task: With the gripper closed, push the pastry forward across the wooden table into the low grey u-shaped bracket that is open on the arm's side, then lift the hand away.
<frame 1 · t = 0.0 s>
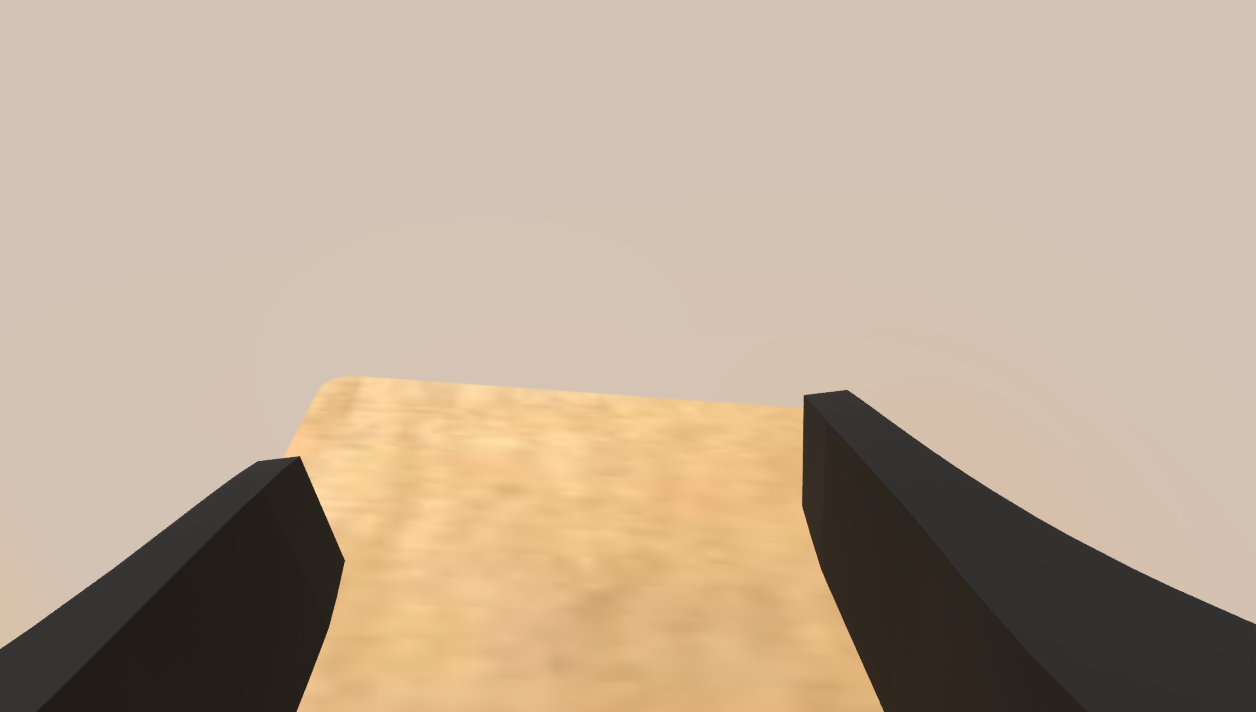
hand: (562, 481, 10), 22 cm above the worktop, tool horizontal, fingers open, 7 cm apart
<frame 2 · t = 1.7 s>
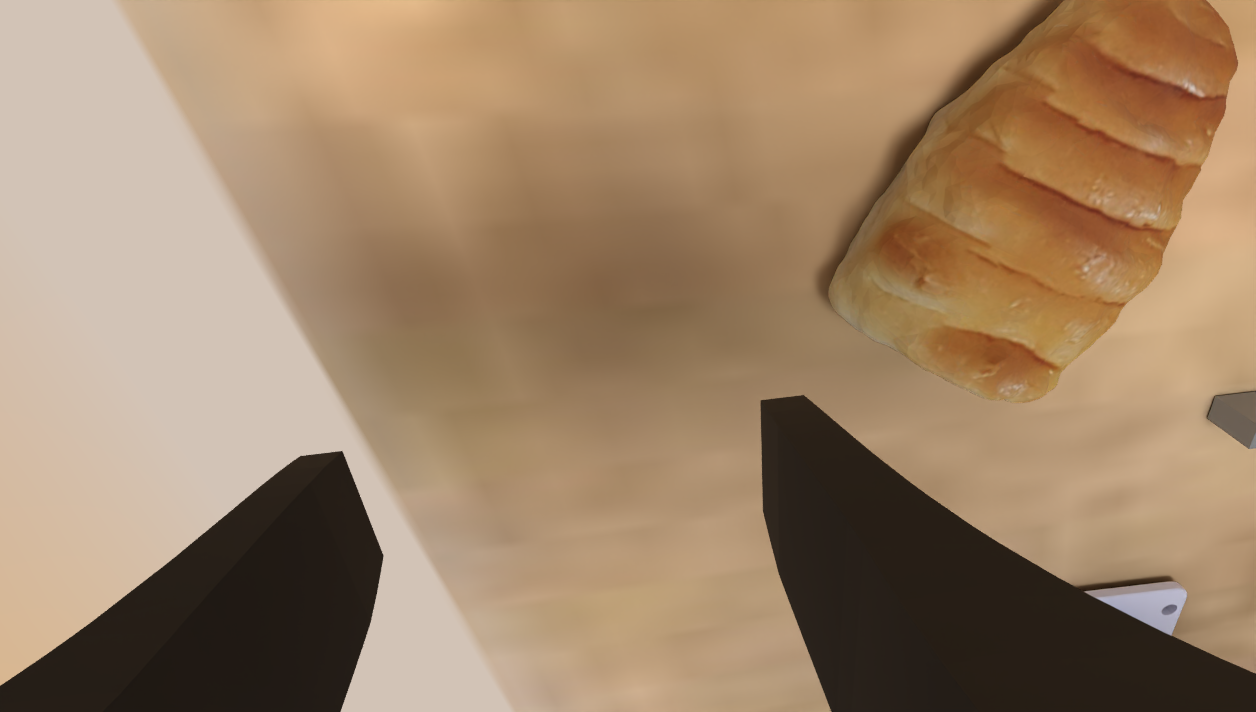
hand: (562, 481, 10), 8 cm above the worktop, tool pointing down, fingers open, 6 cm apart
pastry: (981, 202, 18), on the worktop
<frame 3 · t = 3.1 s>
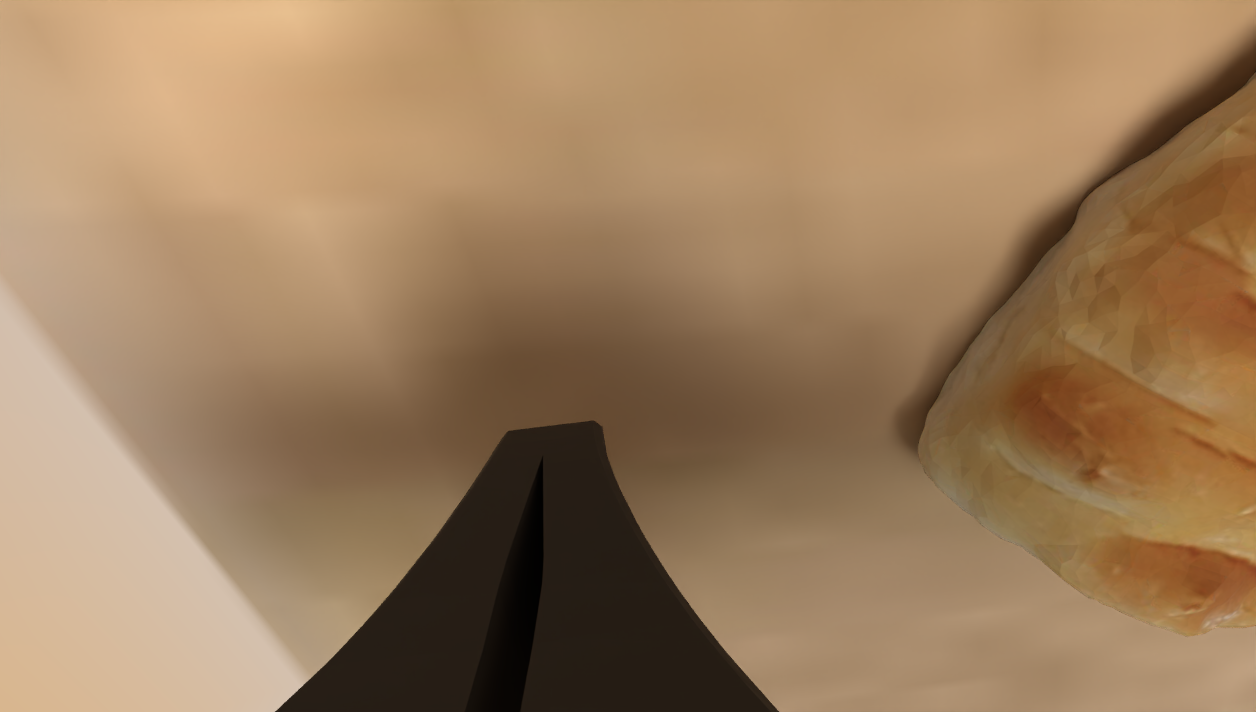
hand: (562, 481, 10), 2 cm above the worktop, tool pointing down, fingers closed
pastry: (1141, 309, 12), on the worktop
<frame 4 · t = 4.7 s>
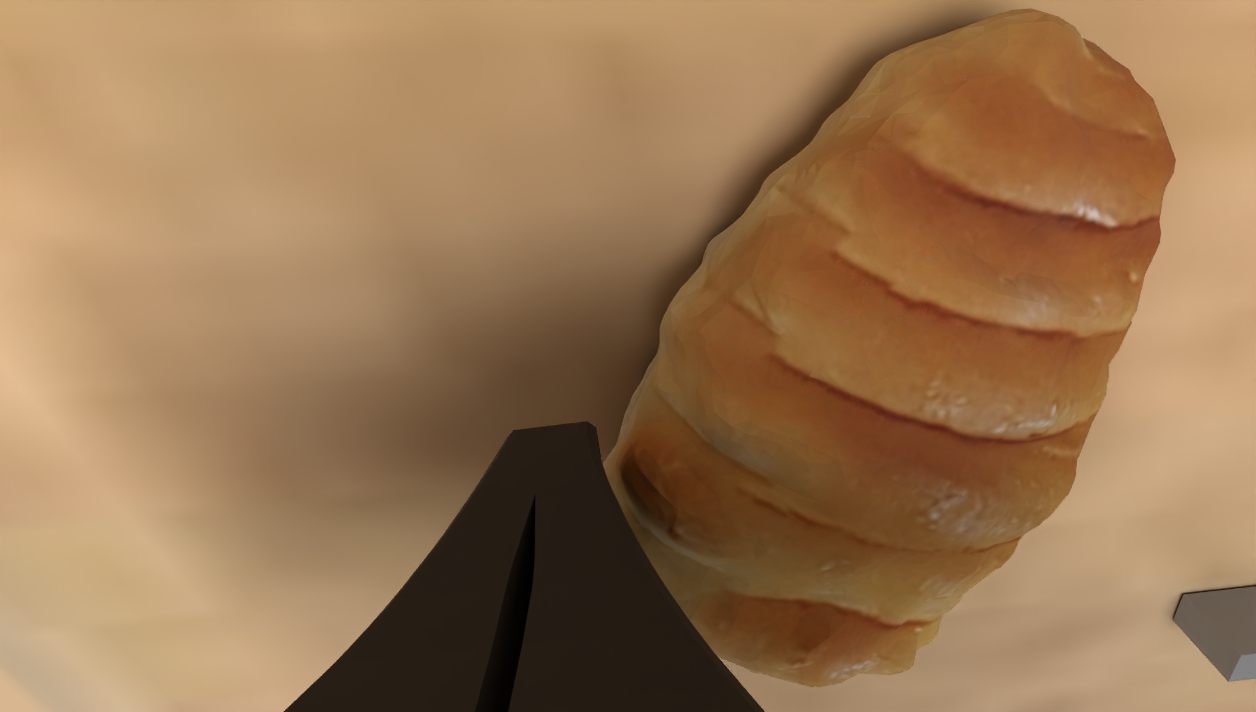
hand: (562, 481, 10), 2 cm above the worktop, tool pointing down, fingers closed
pastry: (818, 350, 12), on the worktop, touching gripper
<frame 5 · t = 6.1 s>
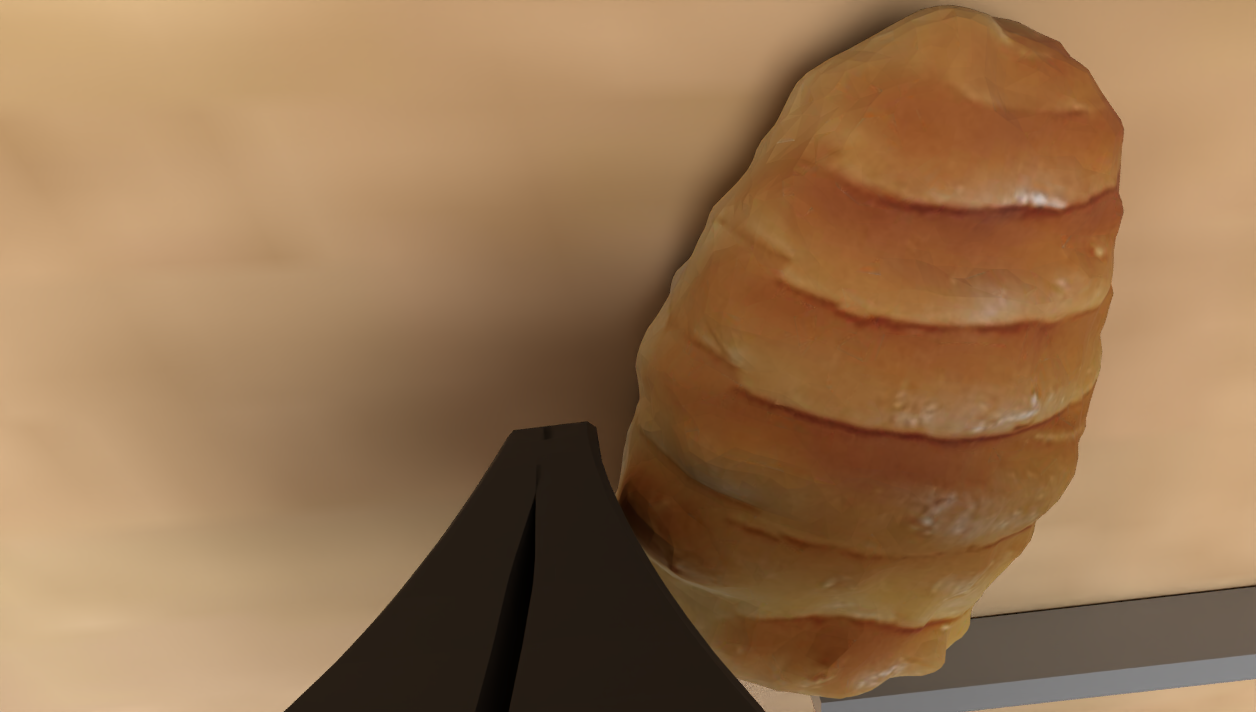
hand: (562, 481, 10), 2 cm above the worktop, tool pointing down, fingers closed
pastry: (808, 357, 12), on the worktop, touching gripper
grey u-shaped bracket: (1163, 338, 12), on the worktop
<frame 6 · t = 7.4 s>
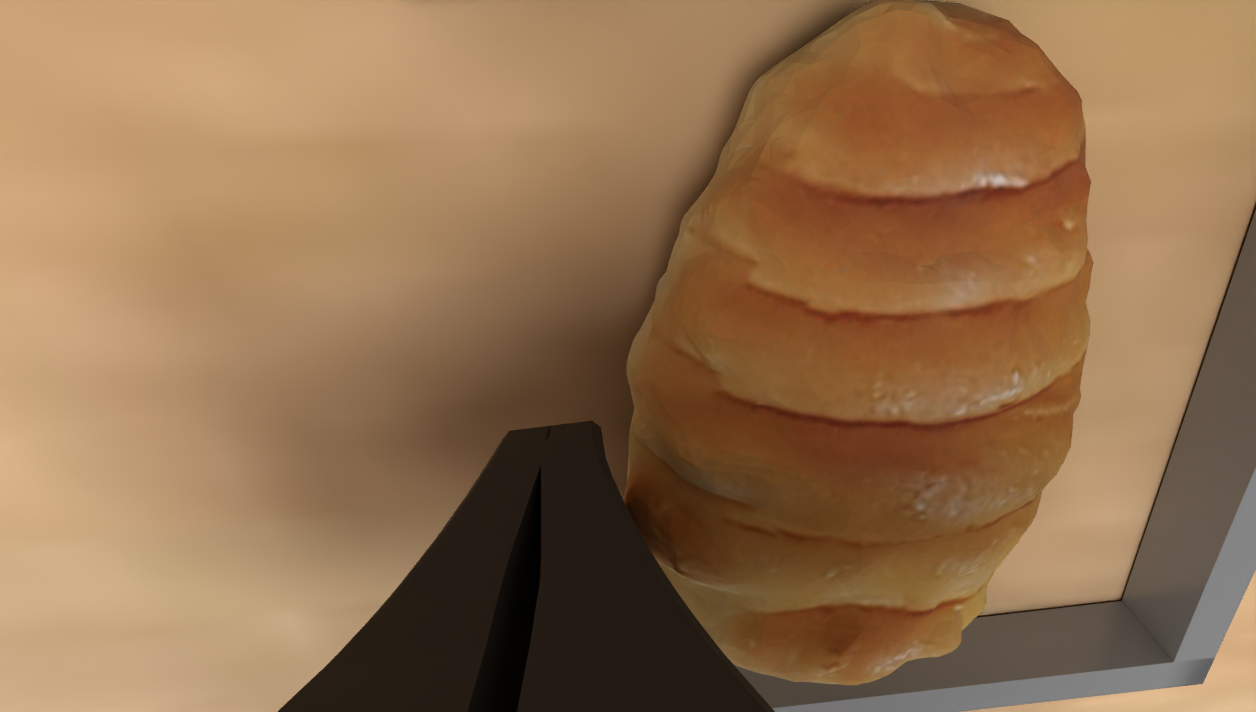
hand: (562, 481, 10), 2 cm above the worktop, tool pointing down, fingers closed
pastry: (803, 350, 12), on the worktop, touching gripper
grey u-shaped bracket: (856, 374, 12), on the worktop
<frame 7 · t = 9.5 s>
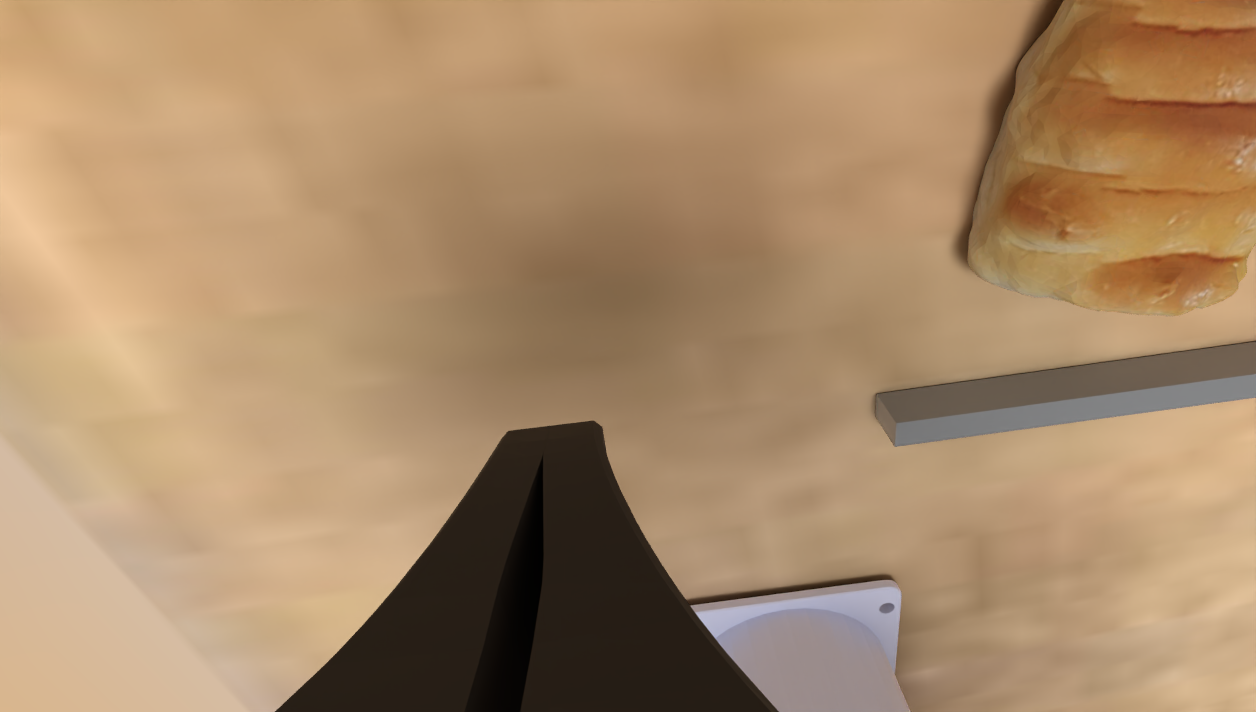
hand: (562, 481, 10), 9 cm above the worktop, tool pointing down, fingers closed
pastry: (1096, 119, 17), on the worktop
grey u-shaped bracket: (1133, 136, 17), on the worktop
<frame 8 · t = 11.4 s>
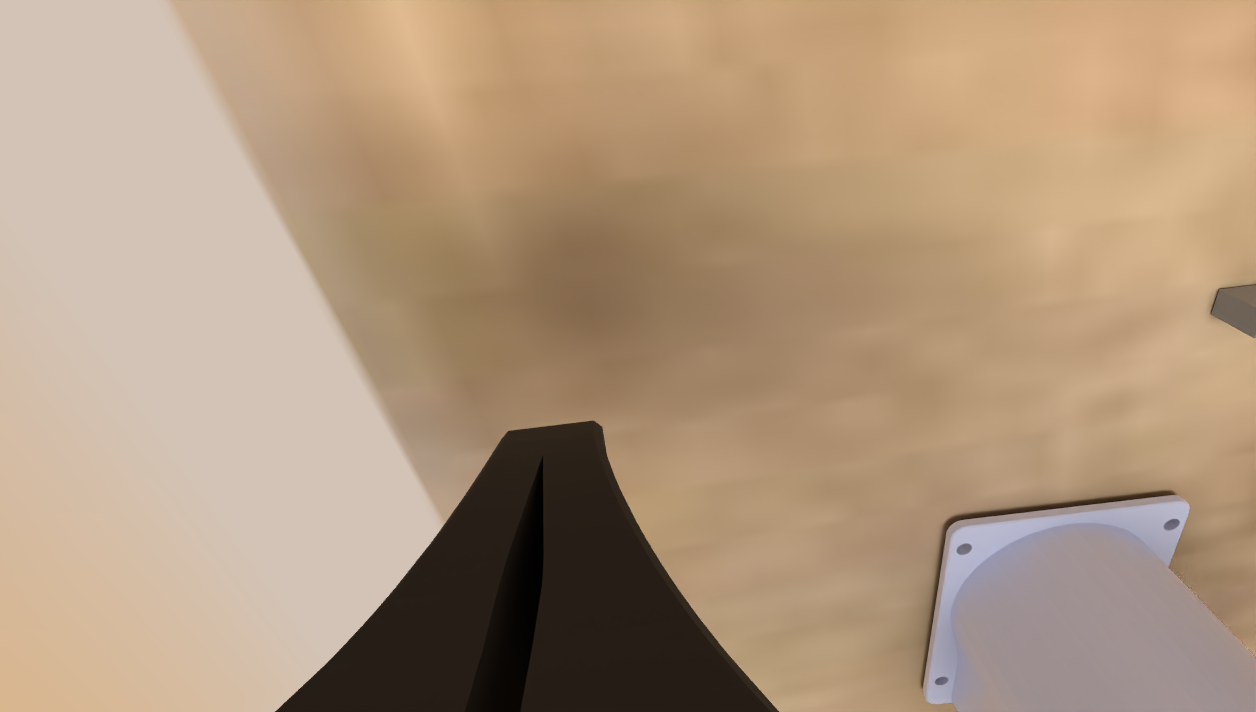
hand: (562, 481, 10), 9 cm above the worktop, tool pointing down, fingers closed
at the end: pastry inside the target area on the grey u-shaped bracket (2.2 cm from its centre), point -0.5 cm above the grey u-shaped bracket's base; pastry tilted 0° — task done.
